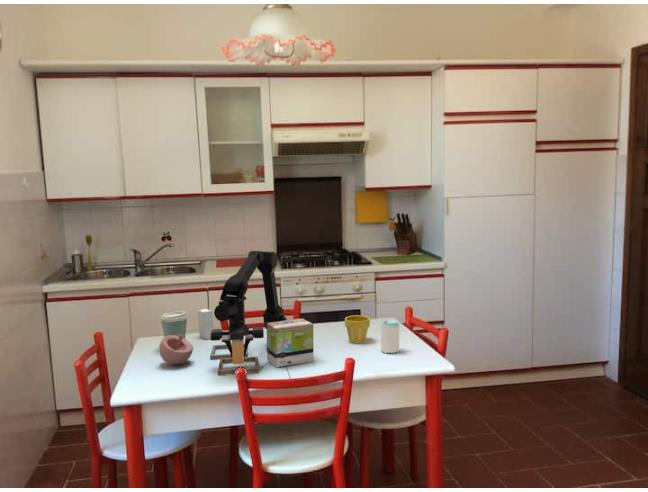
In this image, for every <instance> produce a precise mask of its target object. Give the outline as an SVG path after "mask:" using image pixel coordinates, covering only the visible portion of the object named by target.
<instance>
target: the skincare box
mask: <svg viewBox="0 0 648 492" xmlns="http://www.w3.org/2000/svg"><path fill="white" fill-rule="evenodd" d="M213 314H214V313H213V310H210V309H209V308H208V309H207V308H203V309H197V320H198V332H199V338H201V339H203V340H206V339H208V340H211V331H212V330H213V329H215V327H214V318H213V317H214V316H213Z"/></svg>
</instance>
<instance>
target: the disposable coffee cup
mask: <svg viewBox="0 0 648 492" xmlns="http://www.w3.org/2000/svg"><path fill="white" fill-rule="evenodd" d="M187 321H188V314H187V312H186V311H184V310H177V311H172V312H167V313H164V314H162V315H161V317H160V323H161V328H162V333H163V338H164V337H166V336H167V335H176V336H178V335H179V334H180V335H182V336H183V338H184V339H186V334H187V333H186V332H187V325H188V323H187Z"/></svg>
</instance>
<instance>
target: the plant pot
mask: <svg viewBox="0 0 648 492" xmlns="http://www.w3.org/2000/svg"><path fill="white" fill-rule="evenodd" d="M370 323H371V318H370V317H368V316H366V315H361V314H360V315H357V314H356V315H349V316H346V317H345V318H344V326H345V328H346V332H347V337H348V342H350V343H351V342H363V343H365V342H366V339H367V335H368V330H369V328H370V327H371V326H370V325H371V324H370ZM364 341H365V342H364Z"/></svg>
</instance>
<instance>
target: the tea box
mask: <svg viewBox="0 0 648 492" xmlns="http://www.w3.org/2000/svg"><path fill="white" fill-rule="evenodd" d="M266 361H268V362H269V363H270V364H271V365H272V366H274V367H275V368H281V367H284V366H285V367H286V366H292V365H298V364H306V363H312V362H314V323H312V322H310V321H308V320H306V319H304V318H294V319H287V320H286V321H279V322H271V323H267V329H266Z"/></svg>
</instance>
